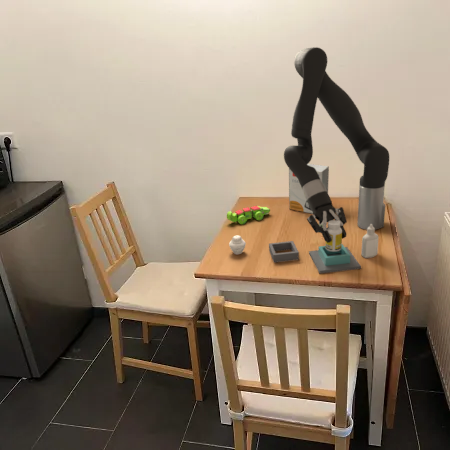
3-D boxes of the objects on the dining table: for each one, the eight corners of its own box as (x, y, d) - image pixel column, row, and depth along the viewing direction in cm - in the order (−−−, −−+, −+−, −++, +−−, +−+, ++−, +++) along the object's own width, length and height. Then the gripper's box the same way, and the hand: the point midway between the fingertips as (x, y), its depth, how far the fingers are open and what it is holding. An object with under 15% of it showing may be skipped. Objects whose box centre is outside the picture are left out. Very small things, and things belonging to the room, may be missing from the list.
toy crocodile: (266, 212, 198) (265, 199, 196) (272, 217, 193) (272, 204, 190) (224, 222, 193) (223, 209, 190) (230, 227, 187) (229, 214, 184)
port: (346, 249, 162) (347, 239, 160) (360, 268, 149) (361, 258, 147) (308, 253, 161) (308, 243, 160) (319, 273, 148) (319, 263, 147)
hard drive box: (288, 209, 198) (287, 166, 190) (296, 203, 204) (295, 161, 196) (321, 215, 190) (321, 171, 182) (328, 209, 196) (329, 165, 187)
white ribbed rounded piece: (245, 256, 163) (243, 239, 160) (228, 256, 164) (227, 239, 161) (247, 248, 169) (246, 231, 166) (231, 248, 170) (229, 231, 167)
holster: (293, 248, 166) (292, 240, 165) (298, 259, 158) (298, 252, 157) (269, 250, 166) (268, 243, 164) (273, 262, 157) (273, 255, 156)
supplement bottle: (341, 245, 155) (342, 219, 151) (341, 252, 150) (342, 226, 146) (325, 244, 156) (326, 218, 152) (324, 251, 151) (325, 225, 147)
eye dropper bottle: (378, 258, 154) (381, 227, 149) (362, 258, 155) (363, 227, 150) (376, 252, 158) (378, 221, 153) (360, 252, 159) (361, 221, 154)
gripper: (303, 195, 149) (324, 241, 144) (338, 186, 154) (359, 230, 149) (294, 204, 156) (314, 248, 151) (328, 196, 161) (348, 238, 156)
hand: (337, 239), depth 150 cm, fingers closed on supplement bottle, 5 cm apart
